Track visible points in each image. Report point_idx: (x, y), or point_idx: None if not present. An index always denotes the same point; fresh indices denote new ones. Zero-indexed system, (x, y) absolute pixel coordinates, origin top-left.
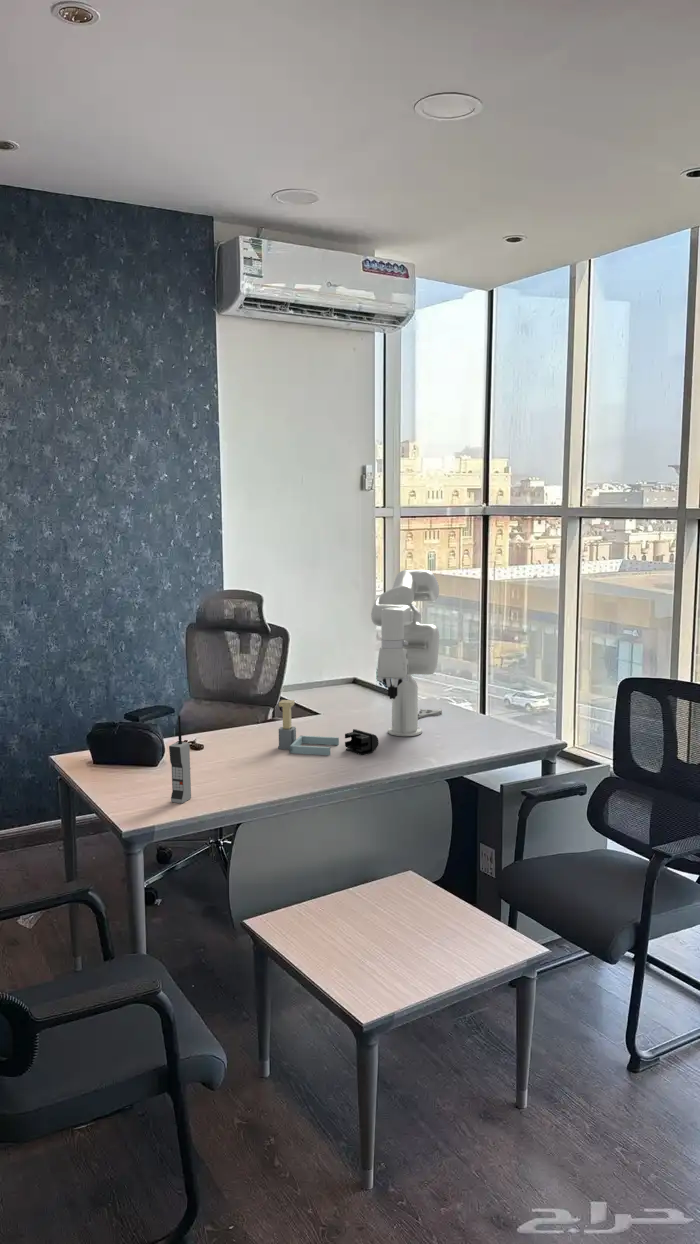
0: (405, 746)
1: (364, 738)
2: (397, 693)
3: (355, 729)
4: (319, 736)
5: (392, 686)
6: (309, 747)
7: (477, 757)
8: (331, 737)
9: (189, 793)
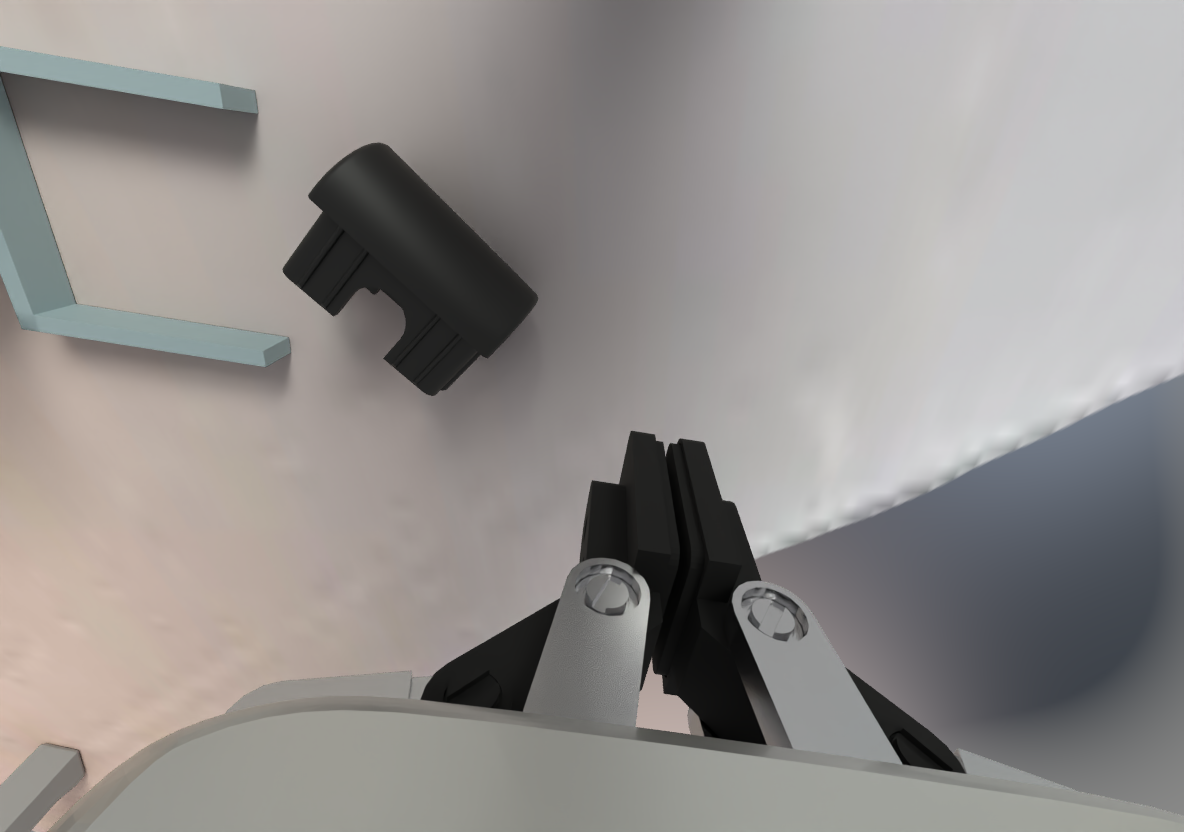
0: (723, 137)
1: (445, 381)
2: (735, 519)
3: (329, 199)
4: (62, 57)
5: (661, 594)
6: (146, 346)
7: (1102, 384)
8: (166, 89)
9: (64, 771)
